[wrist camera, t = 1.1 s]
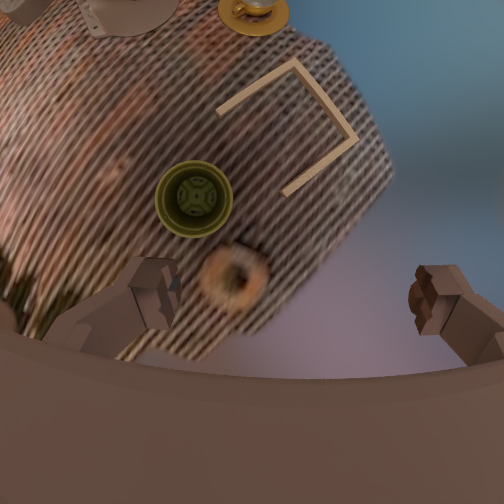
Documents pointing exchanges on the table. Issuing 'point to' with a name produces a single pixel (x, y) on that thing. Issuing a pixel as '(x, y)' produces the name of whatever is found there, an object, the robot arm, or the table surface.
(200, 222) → the plant pot
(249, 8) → the cup
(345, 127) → the frame
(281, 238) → the table surface
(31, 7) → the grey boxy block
